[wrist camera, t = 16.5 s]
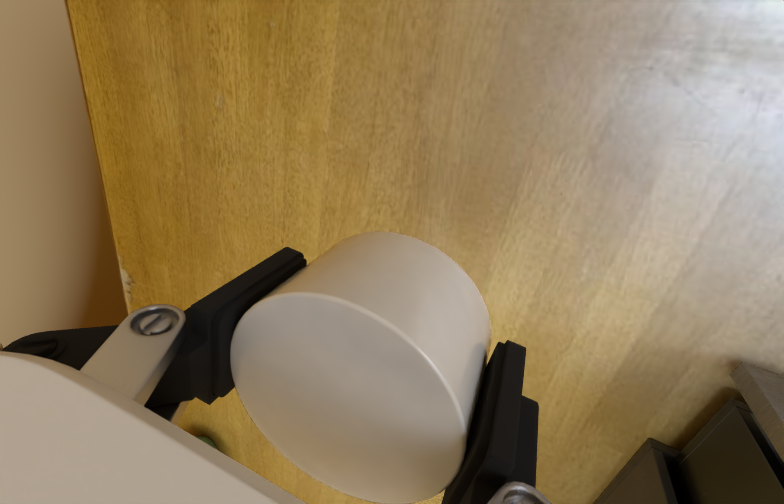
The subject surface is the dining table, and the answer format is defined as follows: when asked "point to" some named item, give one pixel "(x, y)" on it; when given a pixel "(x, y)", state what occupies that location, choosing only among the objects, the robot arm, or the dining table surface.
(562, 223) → the dining table surface
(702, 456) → the drawer
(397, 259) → the white cylindrical puck
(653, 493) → the cabinet
